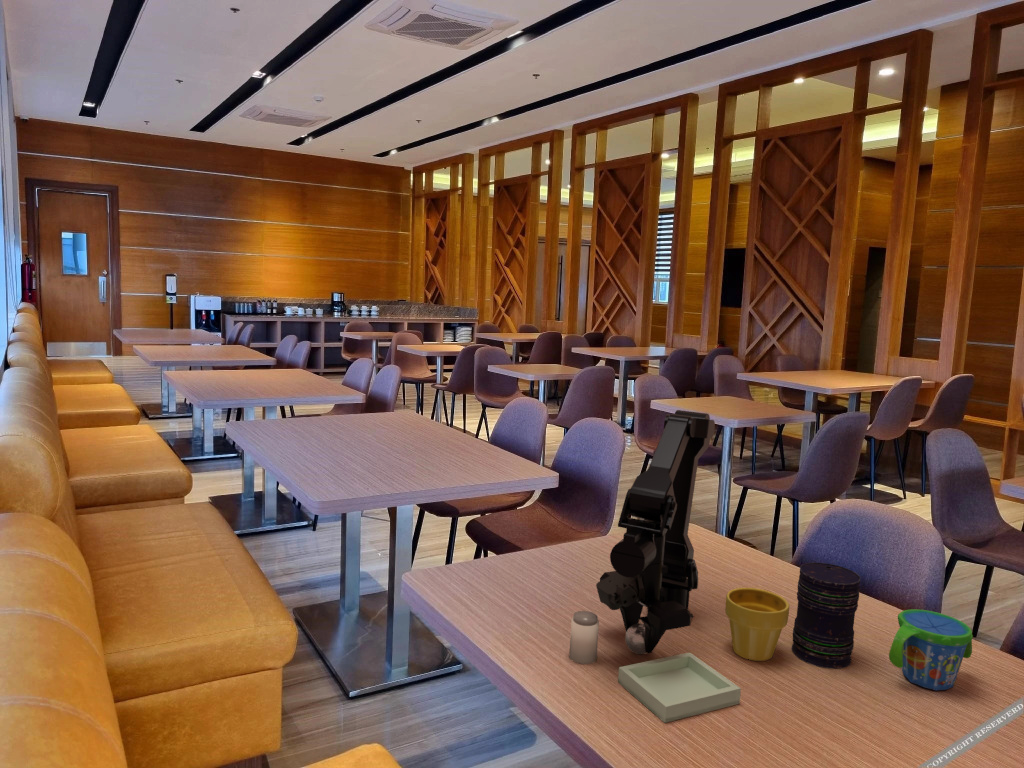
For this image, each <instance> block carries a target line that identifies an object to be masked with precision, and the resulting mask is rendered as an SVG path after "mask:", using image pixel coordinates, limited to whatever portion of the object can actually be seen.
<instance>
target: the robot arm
mask: <svg viewBox="0 0 1024 768" xmlns="http://www.w3.org/2000/svg"><path fill="white" fill-rule="evenodd" d="M715 428H716V425H715V420H714V419H711V418H710V414H709V413H707V412H698V411H697V412H696V411H689V410H681V409H677V410H676V411H675V412H674V413H670V414H668V413H667V414H666V413H665V418H664V423H663V431H662V433H661V435H660V439H659V441H658V443H657V445H656V448H655V450H654V453H653V456H652V459H651V461H650V463H649V466H648V467H647V470H645V471H644V472H641V473H640V474H638V475H637V476H636V478H635V479H634V481H633V483H632V485H631V486H630V488H628V490H627V492H626V495H625V498H624V502H623V505H622V508H621V512H620V516H619V519H618V522H617V527H618V528H621V529H622V528H623V529H625V530H626V531H625V532H624V534H623V538H622V539H621V540H620V541H619V542H617V543H616V544H615V545H614V546H613V547H612V549H611V551H610V554H609V561H610V564H611V567H612V568H613V569H614V570H613V571H611V570H610V571H606V572H603V574H602V575H601V576H600V578H599V581H598V582H597V583H596V584H595V587H596V589H597V595H598V598H599V602H600V603H601V604H604V605H605V606H607V607H608V609H610V610H612V611H616V610H619V611H620V614H621V617H622V621H623V625H624V630H625V633H626V632H627V630H628V629H629V627H631V626H632V625H634V624H638V623H640V621H641V623H642V624H644V625H645V650H646V653H645V654H647V655H648V654H652V653H653V652H654V651H655V648H656V647H657V645H658V644H659V642H660V641H661V639H662V637H663V635H664V634H665V632H667V631H670V630H675V629H681V628H686V627H691V623H692V619H691V618H694V614H693V613H692V612H691V610H689V601H690V593H691V592H692V590H697V589H698V588H699V571H698V567H697V563H696V560H695V559H694V554H695V553H694V552H695V549H694V546H693V544H692V541H691V539H690V537H689V535H688V534H689V527H690V520H691V514H692V513H691V512H692V505H693V499H694V494H695V493H694V492H695V487H696V485H695V484H696V479H697V471H698V465H699V459H700V458H701V457H702V456H703V454H704V453H705V452H706V451H707V450H708V448H709V447H710V444H711V443H710V441H711V439H713V437H714V434H715ZM629 516H631V517H629ZM644 607H645V608H646V610H647V614H646V616H642V612H643V609H644Z"/></svg>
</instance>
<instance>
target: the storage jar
mask: <svg viewBox="0 0 1024 768" xmlns="http://www.w3.org/2000/svg"><path fill="white" fill-rule="evenodd" d="M860 584H861V576H860V574H858V573H857V572H855V571H853V570H851V569H849V568H847V567H844V566H840V565H836V564H830V563H825V562H809V563H808V562H807V563H804V564H802V565H800V568H799V575H798V581H797V592H796V599H797V609H796V617H795V618H794V625H793V628H792V629H793V630H792V645H791V652H792V654H793V655H794V656H795V657H797V659H799V660H801V661H803V662H804V663H807V664H809V665H812V666H814V667H818V668H823V669H828V670H829V669H832V670H833V669H834V670H835V669H836V670H839V669H845V668H847V667H849V666H850V665H851V663H852V657H851V656H852V654H853V650H854V644H855V640H854V638H855V630H854V625H855V619H856V618H855V617H856V616H855V614H856V612H857V610H858V608H859V607H858V606H859V604H858V602H859V600H860Z"/></svg>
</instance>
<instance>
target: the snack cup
mask: <svg viewBox="0 0 1024 768" xmlns="http://www.w3.org/2000/svg"><path fill="white" fill-rule="evenodd" d="M897 620H898V625H899V628H898V630H897V631H896V633H895V635H894V636H893V637H894V638H893V640H892V642H891V646H890V648H889V653H888V658H889V661H890V663H891V664H892V666H894V667H896V668H899V669H901V670H902V673H903V675H904V677H906V678H907V680H908V681H909V682H910V683H912V684H915V685H917V686H919V687H923V688H926V689H930V690H934V691H945V690H949V689H951V688H954V686H955V682H956V679H957V677H958V673H959V672H960V668H961V665H962V662H963V658H964V659H970V658H971V656H972V654H973V638H974V635H973V631H972V629H971V627H970V626H969V625H967V624H966V623H965V622H964V621H961V620H960V619H957V618H955V617H953V616H950V615H946V614H945V613H944V614H943V613H940V612H938V611H937V612H936V611H932V610H926V609H918V608H917V609H914V608H913V609H906V610H902V611H901V612H899V613H898V615H897Z"/></svg>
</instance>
